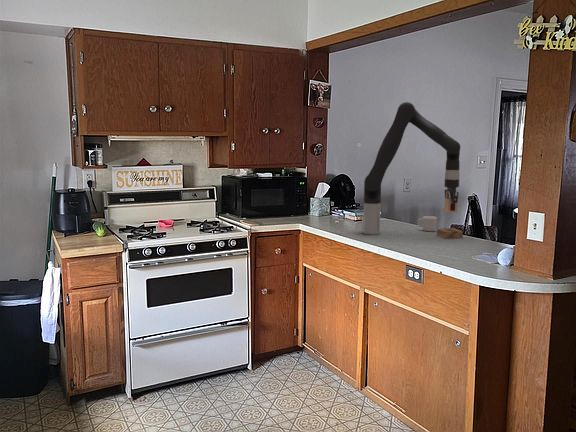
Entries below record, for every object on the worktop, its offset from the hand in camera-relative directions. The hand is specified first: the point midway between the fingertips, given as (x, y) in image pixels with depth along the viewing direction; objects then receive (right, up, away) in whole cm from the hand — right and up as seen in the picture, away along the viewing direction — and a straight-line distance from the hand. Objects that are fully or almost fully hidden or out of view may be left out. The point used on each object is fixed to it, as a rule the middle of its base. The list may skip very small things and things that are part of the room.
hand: (450, 209), depth 291 cm
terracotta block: (0, -1, 0) cm, 1 cm away
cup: (-8, -12, +20) cm, 25 cm away
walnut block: (0, -15, +2) cm, 15 cm away
